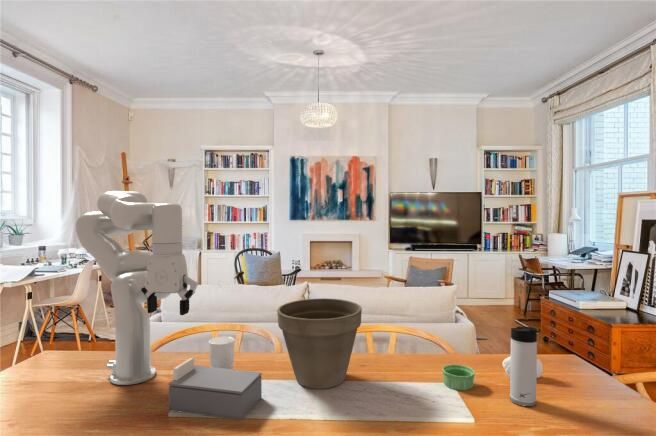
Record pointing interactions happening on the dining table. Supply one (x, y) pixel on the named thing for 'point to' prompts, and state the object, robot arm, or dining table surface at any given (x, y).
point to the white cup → (221, 352)
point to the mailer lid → (212, 378)
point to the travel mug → (523, 365)
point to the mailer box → (215, 401)
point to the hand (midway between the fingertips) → (168, 312)
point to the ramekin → (458, 377)
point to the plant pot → (319, 339)
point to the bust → (507, 367)
